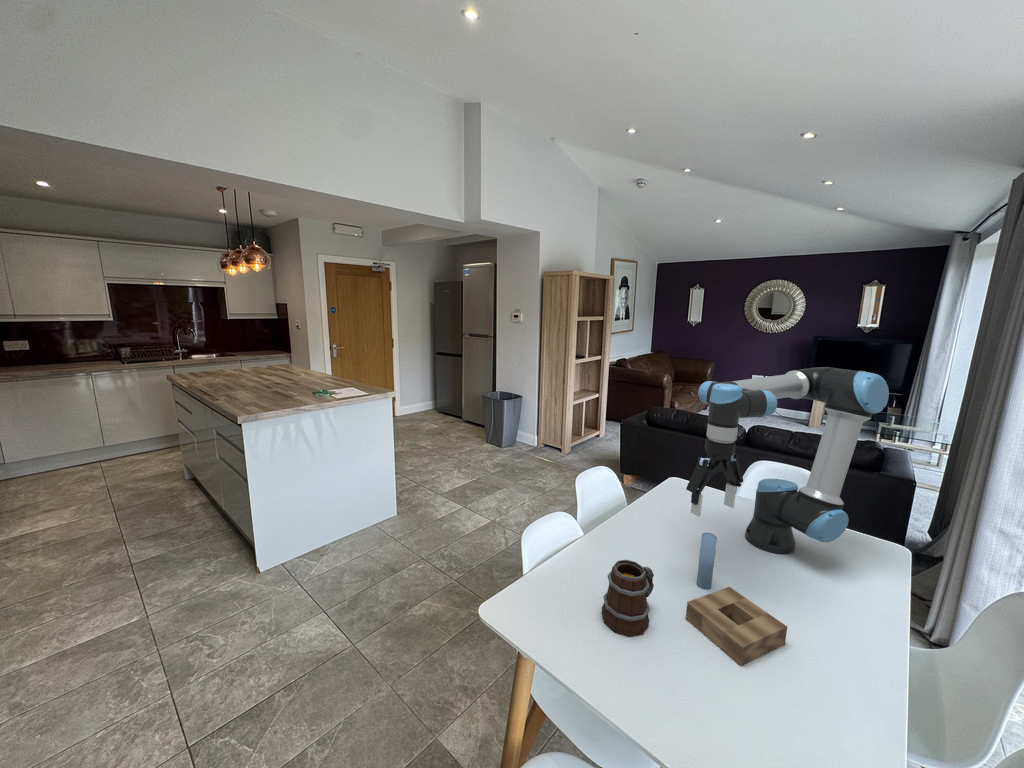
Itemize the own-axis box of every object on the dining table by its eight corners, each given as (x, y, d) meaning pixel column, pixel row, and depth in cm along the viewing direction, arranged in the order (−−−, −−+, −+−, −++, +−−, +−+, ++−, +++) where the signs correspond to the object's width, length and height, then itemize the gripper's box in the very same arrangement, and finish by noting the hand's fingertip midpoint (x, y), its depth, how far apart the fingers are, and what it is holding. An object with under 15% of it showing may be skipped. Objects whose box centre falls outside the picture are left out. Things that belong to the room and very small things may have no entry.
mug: (627, 644, 100) (632, 589, 97) (592, 613, 110) (595, 562, 107) (668, 619, 108) (673, 568, 105) (632, 593, 118) (636, 545, 115)
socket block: (727, 602, 115) (729, 586, 114) (784, 644, 101) (787, 626, 100) (685, 618, 108) (687, 602, 107) (740, 666, 94) (743, 647, 93)
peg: (702, 579, 125) (708, 531, 122) (714, 587, 121) (720, 538, 118) (693, 582, 123) (698, 534, 120) (704, 591, 119) (710, 541, 117)
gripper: (738, 431, 123) (730, 497, 126) (677, 440, 112) (670, 511, 116) (763, 438, 116) (753, 508, 120) (699, 448, 106) (691, 524, 109)
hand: (712, 510), depth 118 cm, fingers open, 13 cm apart
